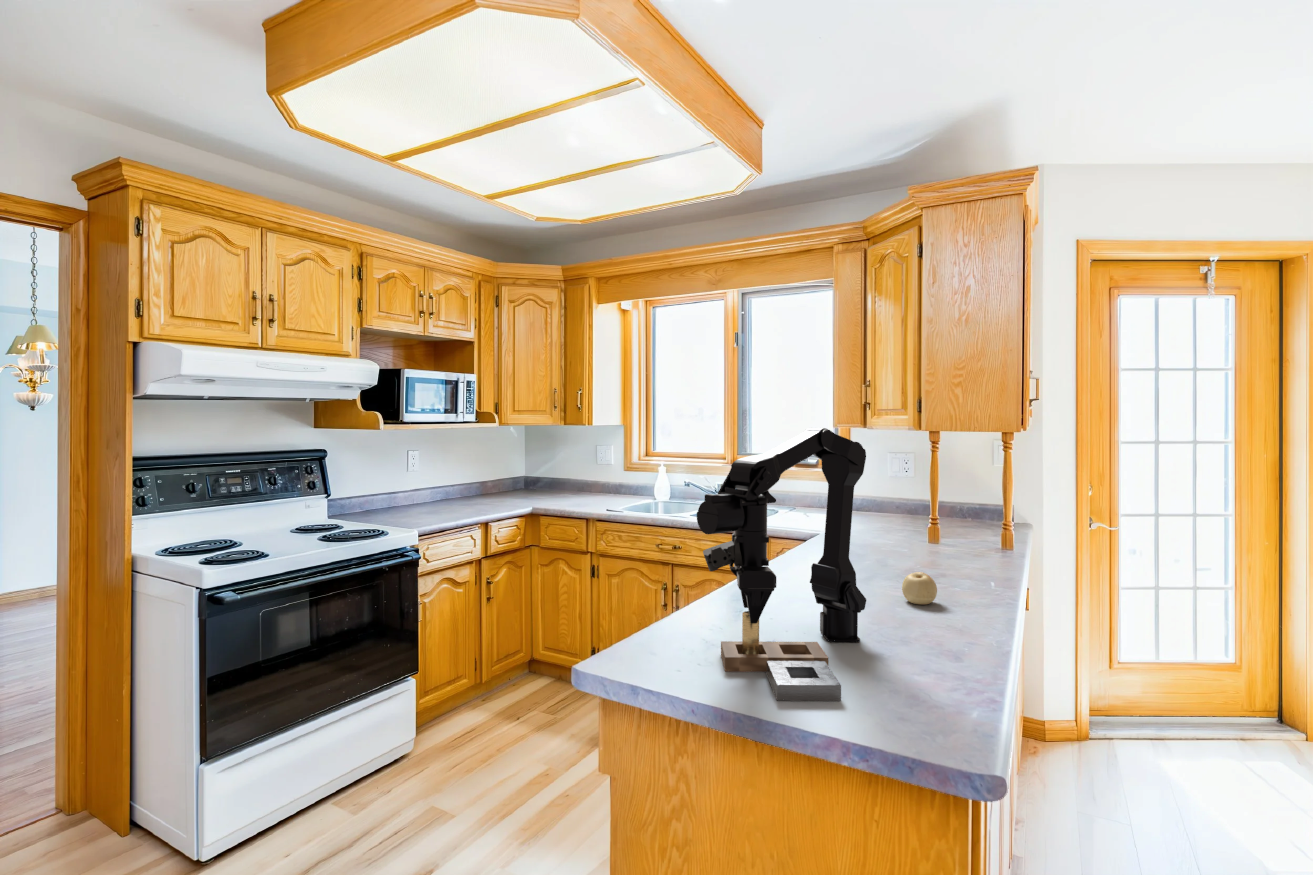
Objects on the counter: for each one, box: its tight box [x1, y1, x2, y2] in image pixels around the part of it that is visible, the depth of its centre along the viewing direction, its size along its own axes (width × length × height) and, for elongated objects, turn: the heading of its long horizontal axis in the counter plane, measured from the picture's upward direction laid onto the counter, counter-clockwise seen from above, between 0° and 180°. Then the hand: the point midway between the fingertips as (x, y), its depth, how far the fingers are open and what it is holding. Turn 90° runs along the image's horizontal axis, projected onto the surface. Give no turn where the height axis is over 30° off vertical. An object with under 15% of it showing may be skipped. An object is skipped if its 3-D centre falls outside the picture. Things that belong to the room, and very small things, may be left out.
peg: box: [741, 610, 760, 654], centre depth 115 cm, size 3×3×9 cm
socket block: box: [766, 661, 842, 702], centre depth 105 cm, size 10×10×2 cm
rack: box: [720, 640, 829, 673], centre depth 115 cm, size 18×8×2 cm, turn 89°
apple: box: [901, 571, 938, 606], centre depth 154 cm, size 8×8×8 cm
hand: (750, 615), depth 115 cm, fingers open, 9 cm apart
